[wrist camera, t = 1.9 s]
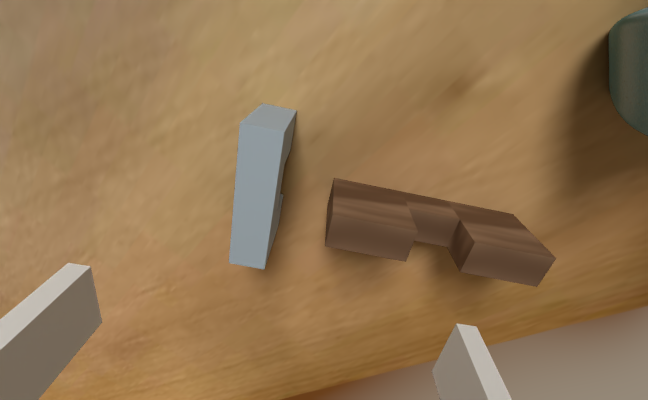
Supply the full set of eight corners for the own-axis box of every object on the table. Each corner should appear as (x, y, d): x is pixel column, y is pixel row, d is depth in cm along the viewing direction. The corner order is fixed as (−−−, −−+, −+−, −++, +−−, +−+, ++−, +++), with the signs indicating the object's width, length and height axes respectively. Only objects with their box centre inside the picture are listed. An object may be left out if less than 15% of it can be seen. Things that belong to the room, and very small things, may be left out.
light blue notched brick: (262, 103, 27) (239, 122, 21) (296, 110, 28) (284, 132, 21) (249, 220, 33) (228, 262, 27) (278, 225, 33) (264, 269, 27)
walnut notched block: (334, 177, 30) (332, 214, 24) (513, 214, 31) (556, 258, 25) (327, 205, 32) (324, 246, 25) (499, 239, 33) (537, 286, 26)
